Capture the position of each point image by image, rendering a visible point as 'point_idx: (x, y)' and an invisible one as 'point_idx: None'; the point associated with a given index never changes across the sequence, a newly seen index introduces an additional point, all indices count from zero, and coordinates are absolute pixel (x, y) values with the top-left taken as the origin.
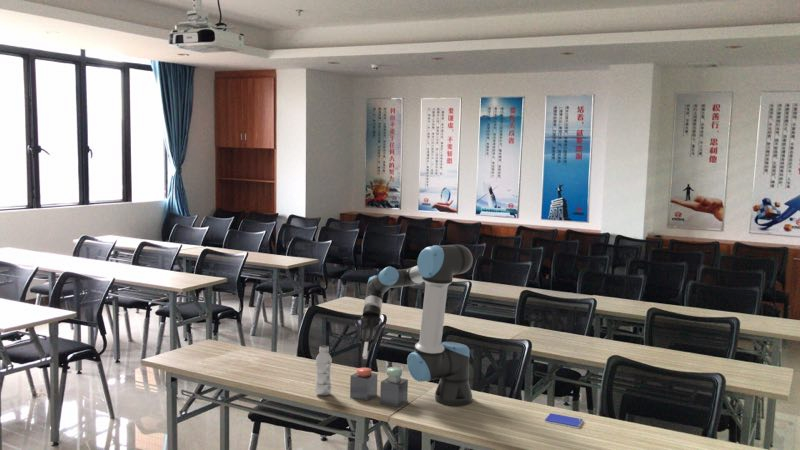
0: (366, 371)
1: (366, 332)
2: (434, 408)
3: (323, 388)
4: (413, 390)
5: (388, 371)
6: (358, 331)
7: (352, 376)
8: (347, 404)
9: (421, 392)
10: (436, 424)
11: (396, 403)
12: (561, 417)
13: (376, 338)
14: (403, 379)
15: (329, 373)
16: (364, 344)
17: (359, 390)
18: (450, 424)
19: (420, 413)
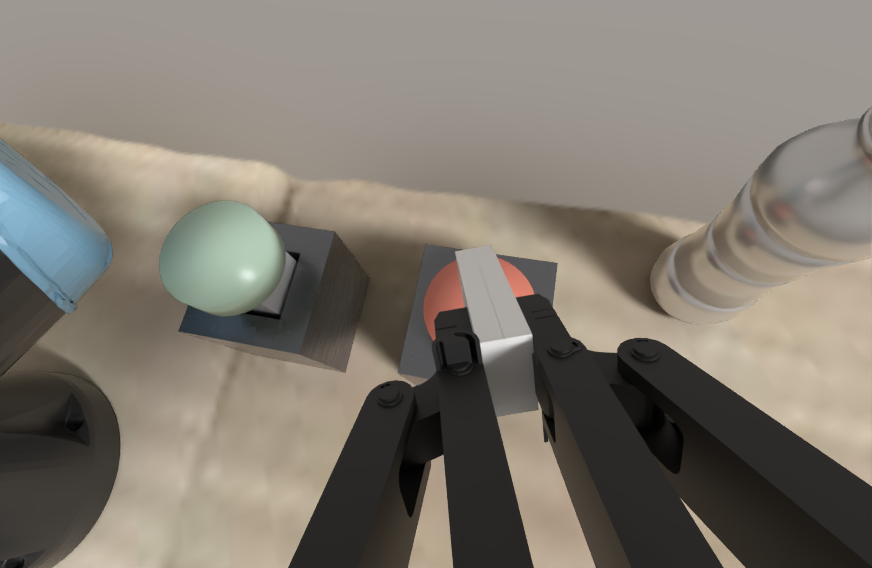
0: (449, 277)
1: (598, 496)
2: (125, 315)
3: (685, 236)
4: (242, 548)
5: (257, 213)
6: (812, 471)
7: (541, 262)
8: (508, 216)
9: (195, 528)
10: (119, 163)
11: None
12: None
13: (355, 425)
14: (205, 323)
15: (712, 240)
16: (518, 310)
17: None
18: (69, 181)
19: None
